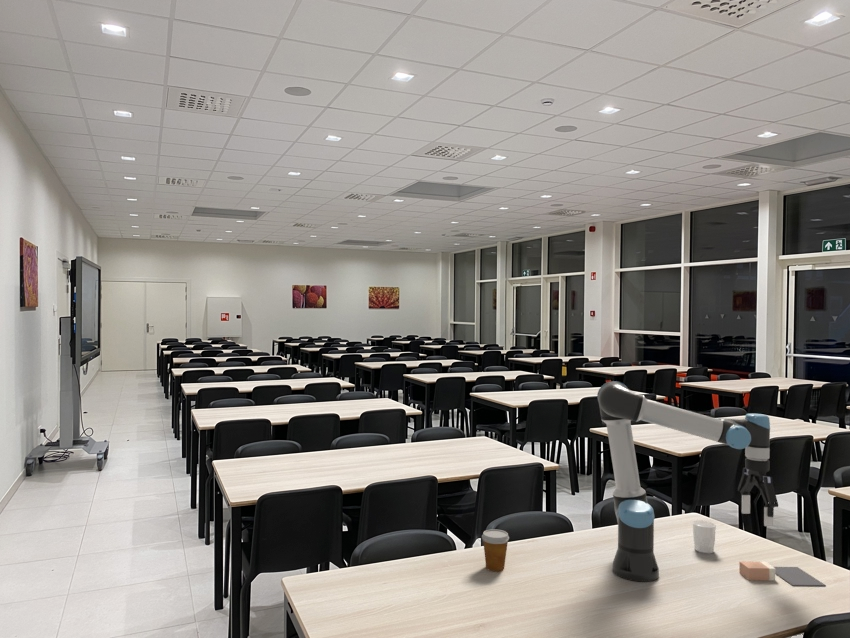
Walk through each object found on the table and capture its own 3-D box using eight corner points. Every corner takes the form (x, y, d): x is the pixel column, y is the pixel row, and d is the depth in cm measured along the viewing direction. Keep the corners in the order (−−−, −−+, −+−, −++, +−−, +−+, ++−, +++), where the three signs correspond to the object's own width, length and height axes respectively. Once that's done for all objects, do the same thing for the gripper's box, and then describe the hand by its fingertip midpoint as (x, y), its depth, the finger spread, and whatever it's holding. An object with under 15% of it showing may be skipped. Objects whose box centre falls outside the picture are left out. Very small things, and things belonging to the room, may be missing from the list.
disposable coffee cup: (508, 563, 217) (508, 529, 217) (509, 574, 208) (509, 538, 208) (481, 561, 218) (481, 528, 218) (481, 572, 208) (481, 537, 209)
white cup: (719, 554, 228) (719, 527, 228) (698, 553, 228) (698, 527, 228) (709, 546, 236) (710, 520, 236) (689, 546, 236) (689, 520, 236)
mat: (792, 585, 201) (792, 584, 201) (766, 567, 216) (766, 566, 216) (825, 586, 201) (825, 585, 201) (797, 568, 216) (797, 566, 216)
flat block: (748, 580, 205) (748, 568, 205) (739, 572, 211) (739, 561, 211) (775, 580, 205) (775, 568, 205) (765, 573, 211) (765, 561, 211)
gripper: (790, 466, 201) (790, 531, 201) (747, 451, 226) (747, 508, 226) (768, 466, 201) (767, 531, 201) (727, 451, 226) (727, 508, 226)
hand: (756, 519), depth 213 cm, fingers open, 13 cm apart
